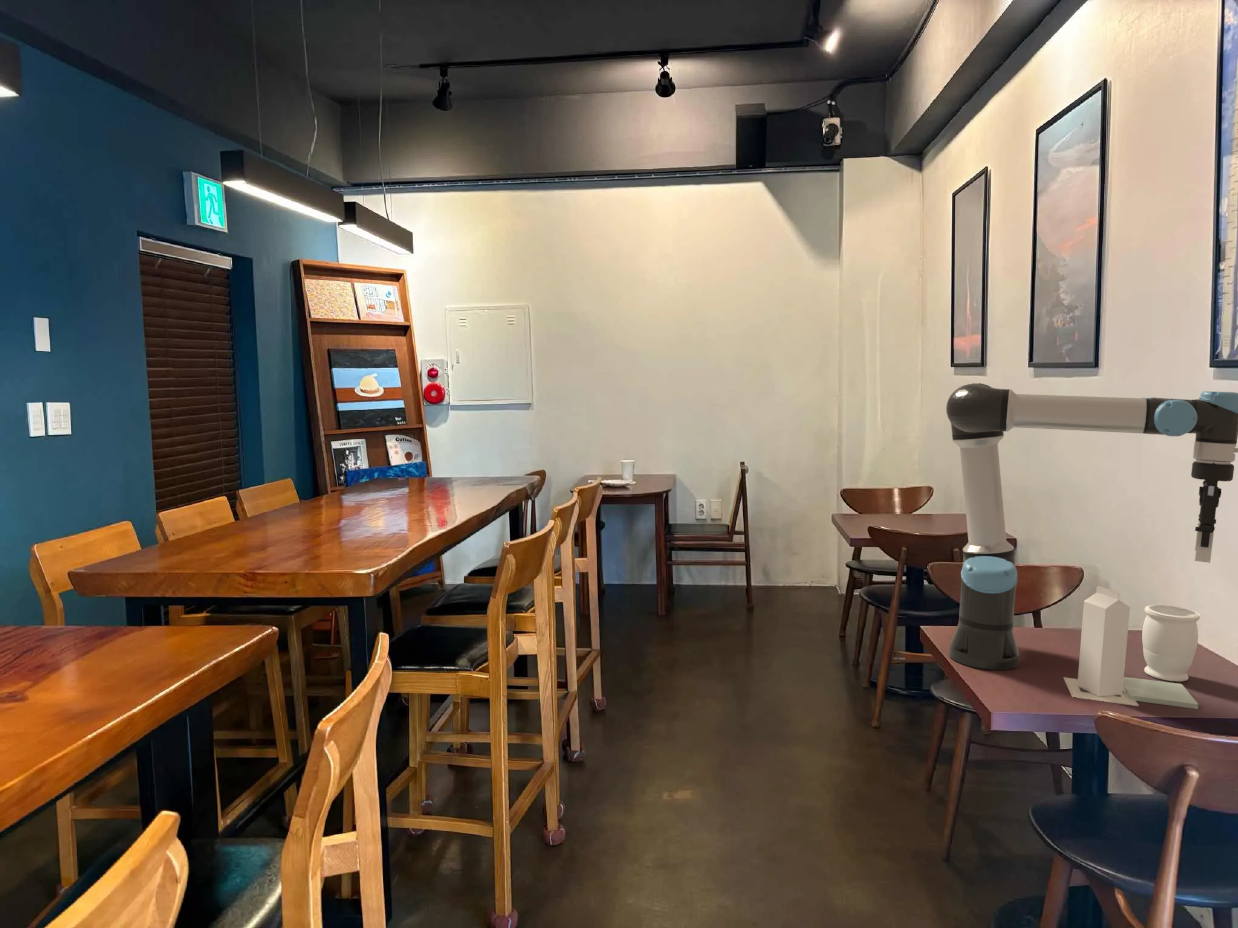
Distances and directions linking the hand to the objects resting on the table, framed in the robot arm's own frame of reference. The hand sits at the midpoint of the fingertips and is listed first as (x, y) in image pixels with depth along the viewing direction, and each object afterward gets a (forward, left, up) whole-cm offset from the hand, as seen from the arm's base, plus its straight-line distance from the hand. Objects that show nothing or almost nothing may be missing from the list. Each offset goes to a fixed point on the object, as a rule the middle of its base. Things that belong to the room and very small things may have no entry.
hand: (1202, 556), depth 185 cm
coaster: (-11, -18, -27) cm, 34 cm away
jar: (-6, -4, -27) cm, 28 cm away
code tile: (-22, -21, -27) cm, 40 cm away
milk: (-22, -21, -27) cm, 40 cm away
